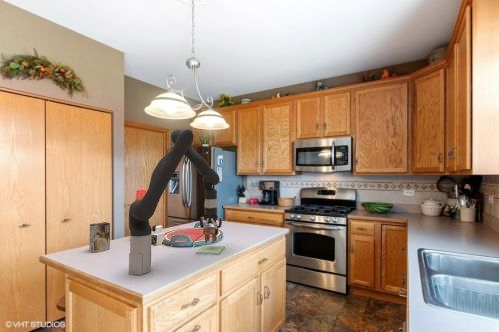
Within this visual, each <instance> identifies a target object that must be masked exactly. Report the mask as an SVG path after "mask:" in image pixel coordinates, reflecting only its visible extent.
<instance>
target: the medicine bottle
mask: <svg viewBox="0 0 499 332" xmlns="http://www.w3.org/2000/svg"><path fill="white" fill-rule="evenodd" d="M151 229H152V237H151V246H154V247H155V246H156V247H157V246H160V245H163V244H162V242H163V240H164V239H165V240H166V232H164V231H163V225H161V224H155V225H153V226H152V227H151Z"/></svg>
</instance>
